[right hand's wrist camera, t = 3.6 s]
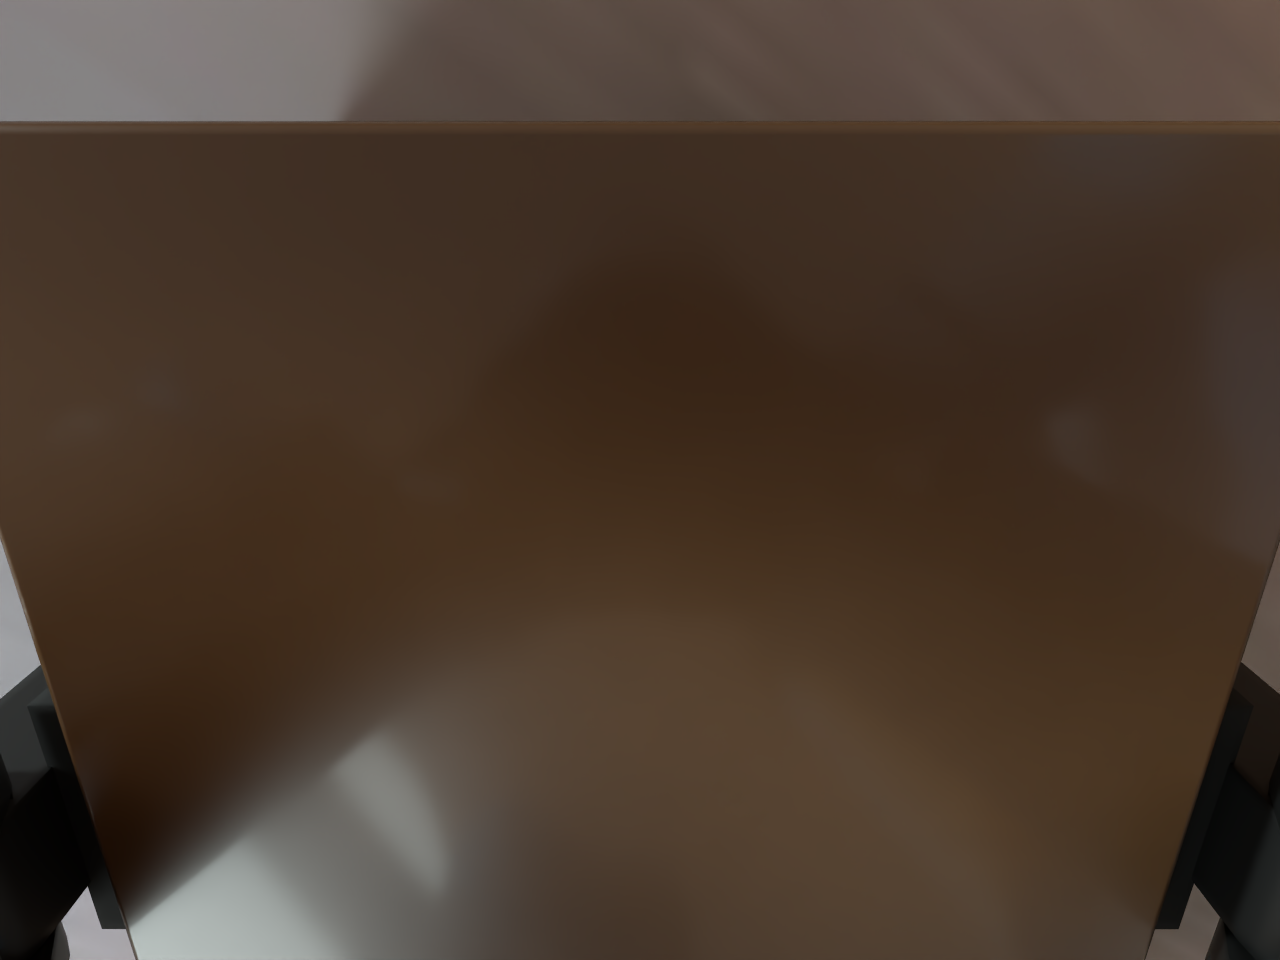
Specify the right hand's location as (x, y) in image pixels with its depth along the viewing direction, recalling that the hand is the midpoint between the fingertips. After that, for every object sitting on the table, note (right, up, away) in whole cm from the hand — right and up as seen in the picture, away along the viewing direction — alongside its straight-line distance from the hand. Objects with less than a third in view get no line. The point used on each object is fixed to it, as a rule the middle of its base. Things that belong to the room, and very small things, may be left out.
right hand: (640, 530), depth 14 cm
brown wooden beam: (0, -22, +9) cm, 24 cm away
